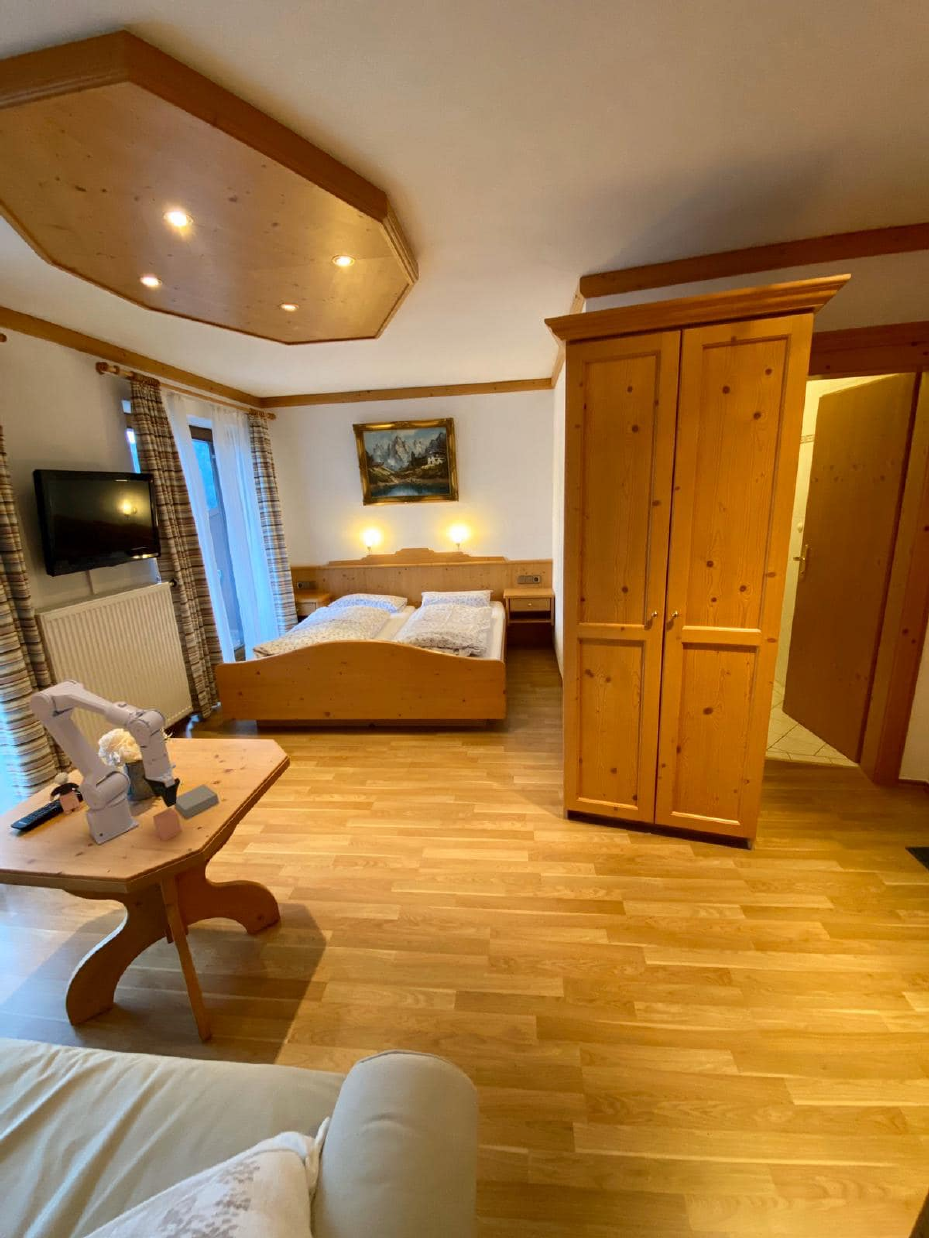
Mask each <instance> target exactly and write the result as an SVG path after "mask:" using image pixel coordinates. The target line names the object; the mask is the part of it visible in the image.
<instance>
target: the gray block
mask: <svg viewBox="0 0 929 1238" xmlns="http://www.w3.org/2000/svg"><path fill="white" fill-rule="evenodd" d="M218 804H220V801H219V797H218V793H216V792H215V791H214V790H212V789H211V788H210V787H208V786H207V785H206V784H205V783H204V784H201V785H200V786H196V787H195V788H193V789H191V790H188V791H186V792H184V793H182V794H180V795H178V796H177V798H176V804H175V805H173V806H174V808H175V809H176V810H177V812H179V813H180V815H182V816H183V817H185V819H187V820H188V819H190V818H192V817H195V816H196V815H198V814H200V813H202V812H204V811H206V810H208V809H210V808H212V807H214V806H216V805H218Z"/></svg>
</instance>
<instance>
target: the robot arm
mask: <svg viewBox="0 0 929 1238" xmlns="http://www.w3.org/2000/svg"><path fill="white" fill-rule="evenodd" d="M28 708H29V710H31V712H32V713H33V715H34V716H35V717H36V718H37V720H38V721H39V722H40V724H42V725H43V726H44V728H45V729H46V730H47V732H48V733H49V734H50V735H51V737H52V738H53V740H54V741H55V742H56V743H57V744H58V746H59V748H61V750H62V752H64V754H65V756H66V757H68V759H69V760H70V762H71V763H72V764H73V766H74V767H75V768H76V770H77V771H78V772H79V773H80V775H81V776H82V780H81V782H80V785H79V786H80V787H79V791H80V792H79V791H78V792H79V793H80V794H81V795H82V799H83V800H82V801H83V802H84V804H85V805H86V806H87V807H88V808H89V809H86V810H85V811H84V815H85V819H86V821H87V825H88V828H89V833H90V835H91V836H92V838H93V839H94V840H95V842H96V844H98V845H101V844H103V843H105V842H107V841H109V840H112V839H113V838H116V837H118V836H120V835H122V834H124V833H126V832H128V831H130V830H132V829H135V828H136V827H138V826H139V823H138V822H137V820H136V819H135V818H134V817H133V815H132V813H131V812H132V811H131V810H130V805H129V801H128V798H127V794H128V789H129V788H130V786H131V779H130V777H129V775H128V774H126V773H125V772H124V771H123V770H121V769H120V768H119V766H118V765H114V764H106V763H105V762H104V760H103V759H102V758H101V756H100V755H99V754H98V753H97V751H96V750H95V749H94V747H93V746H92V744H90V742H89V741H88V739H87V738H86V737H85V735H84V734H83V732H82V731H81V730H80V728H79V727H78V725H76V723H75V722H74V721H73V720H72V715H73V712H74V711H75V710H76V708H79V709H82V710H85V711H89V712H91V713H93V714H94V713H95V714H97V715H102V716H104V720H105V721H106V722H107V723H109V724H111V725H114V726H116V727H117V726H118V727H120V728H122V729H124V730H127V731H128V733H129V735H130V736H131V737H132V738H133V740H135V744H137V746H138V748H139V752H140V756H141V760H142V764H143V768H144V774H142V775H141V779H143V780H144V782H146V783H147V784H148V786H149V788H150V790H151V791H152V793H153V795H154V796H155V798H160V797H161V798H162V800H163V801H162V802H163V803H164V805H165V806H166V807H167V808H171V807H172V806H174V805H175V804H176V798H177V797H178V796H177V795H178V789H179V786H180V784H181V780H180V778H179V777H177V778H174V776H173V769H175V768H176V767H177V764H176V763H174V762H170V758H169V753H168V749H167V744H166V740H165V736H164V733H163V732H164V731H163V728H165V726H166V721H167V720H166V717H165V715H164V714H163V713H162V712H161V711H159V710H157V709H156V708H151V709H148V710H147V709H141V708H138V707H135V706H134V705H130V704H128V702H126V701H117V702H111V701H108V700H107V699H105V698H103V697H100V696H98V695H97V694H95V693H92V692H91V691H88V690H86V688H85V686H84V684H83V683H81V682H77V680H74V679H65V680H63V682H59V683H58V684H55V685H53V686H50V687H48V688H45V689H43V690H41V691H37V692H35V693H33V694H32V695H31V696H30V699H29V704H28Z"/></svg>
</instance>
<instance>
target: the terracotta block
mask: <svg viewBox="0 0 929 1238" xmlns="http://www.w3.org/2000/svg"><path fill="white" fill-rule="evenodd" d="M152 817H153V822H154V826H155V830H156V834H157V836H158V837H159V838H160V839H161V840H162V841H163V842H166V841H168V840H170V839H171V838H173V837H175V836H177V835H179V834H181V833H182V827H181V823H180V819H179V816H178V813H177V811H175V809H173V808H172V807H168V808H167V809H165V810H163V811H160V812H158V813H157V814H154V815H153V816H152Z"/></svg>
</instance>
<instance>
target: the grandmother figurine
mask: <svg viewBox="0 0 929 1238" xmlns="http://www.w3.org/2000/svg"><path fill="white" fill-rule="evenodd" d="M53 781H54V784H57V786H56V787H55V788H54V789H52V791H51V793H50V794H49V795H50V796H49V802H53V801H54V800H55V797H56V796H58V795H59V797H58V798H59V801H60V805H61V807H62V809H63V813H64V815H69V814H71V813H72V812H73V810H74V812H78V811H80V810H81V809H82V808H83V806H84V805H83V804H81V803H80V801H79V798H78V796H77V794H76V792H75V790H77V791H78V792H79V793H81V792H80V791H79V787H80V785H79V784H78V783H74V782H69V775H68V773H67V772H66V771H64V772H59V773H58V774H57V775H55V777H54V780H53Z"/></svg>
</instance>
